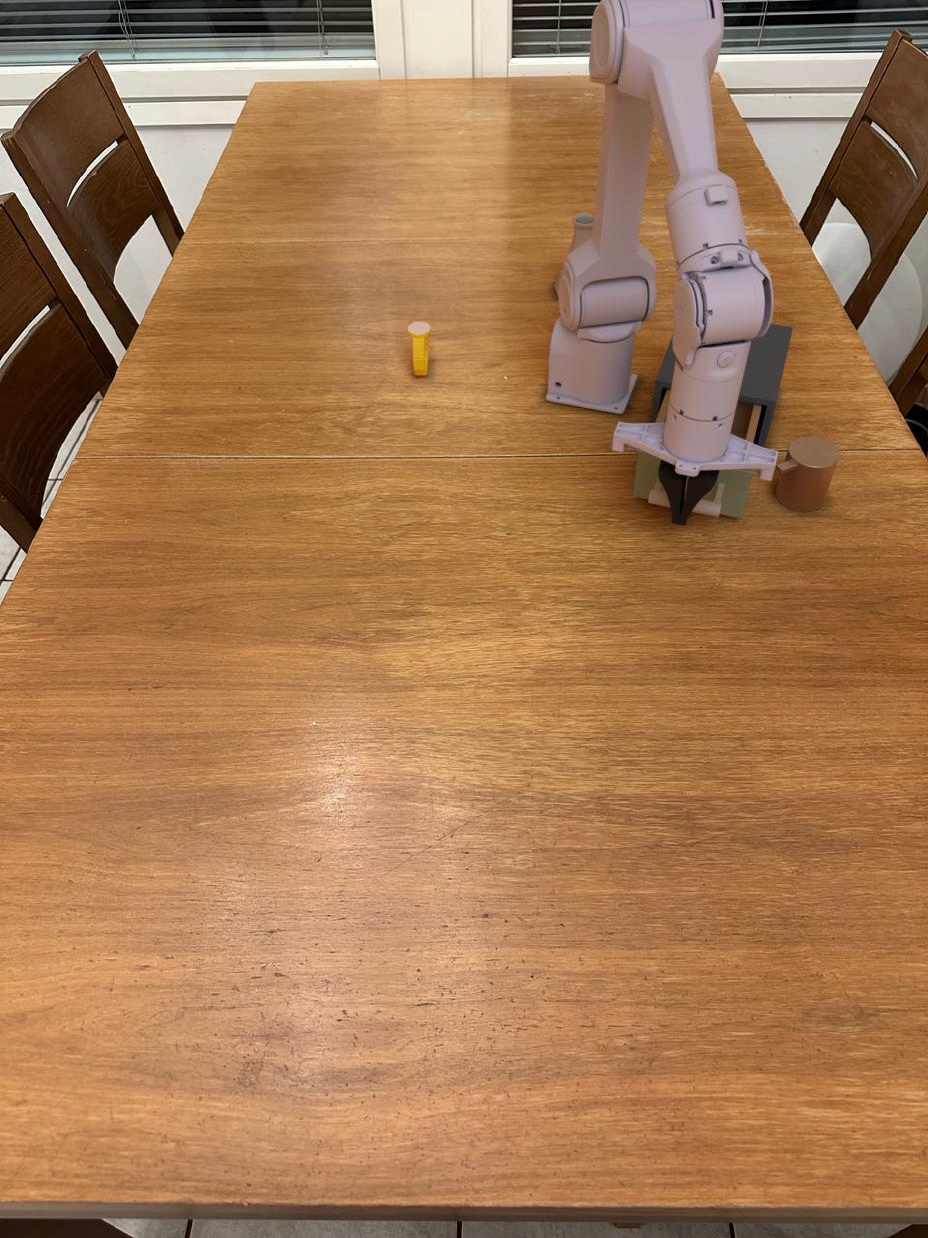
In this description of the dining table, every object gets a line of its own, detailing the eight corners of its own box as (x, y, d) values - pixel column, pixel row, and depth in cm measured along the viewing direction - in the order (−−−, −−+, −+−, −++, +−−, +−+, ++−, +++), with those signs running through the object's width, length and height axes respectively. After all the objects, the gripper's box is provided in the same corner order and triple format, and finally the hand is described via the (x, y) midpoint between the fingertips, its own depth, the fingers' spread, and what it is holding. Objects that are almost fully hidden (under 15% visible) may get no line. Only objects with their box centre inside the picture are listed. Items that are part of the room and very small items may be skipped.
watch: (412, 355, 120) (409, 313, 116) (434, 355, 120) (432, 313, 115) (409, 383, 116) (405, 340, 112) (431, 383, 116) (428, 340, 112)
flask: (603, 306, 127) (610, 233, 119) (550, 301, 128) (553, 229, 120) (609, 278, 131) (616, 207, 124) (557, 274, 132) (561, 203, 125)
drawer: (734, 547, 94) (748, 496, 89) (622, 524, 97) (629, 472, 92) (759, 440, 106) (772, 389, 100) (658, 421, 108) (666, 370, 103)
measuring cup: (803, 475, 103) (817, 430, 98) (834, 502, 100) (849, 457, 95) (752, 494, 101) (764, 449, 97) (782, 522, 98) (796, 477, 93)
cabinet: (759, 465, 104) (776, 400, 98) (646, 444, 107) (655, 379, 101) (776, 390, 113) (793, 326, 107) (671, 373, 116) (681, 309, 110)
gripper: (609, 413, 81) (597, 529, 91) (782, 445, 78) (749, 562, 88) (628, 367, 85) (614, 483, 96) (793, 396, 82) (760, 513, 92)
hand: (680, 518), depth 92 cm, fingers closed
